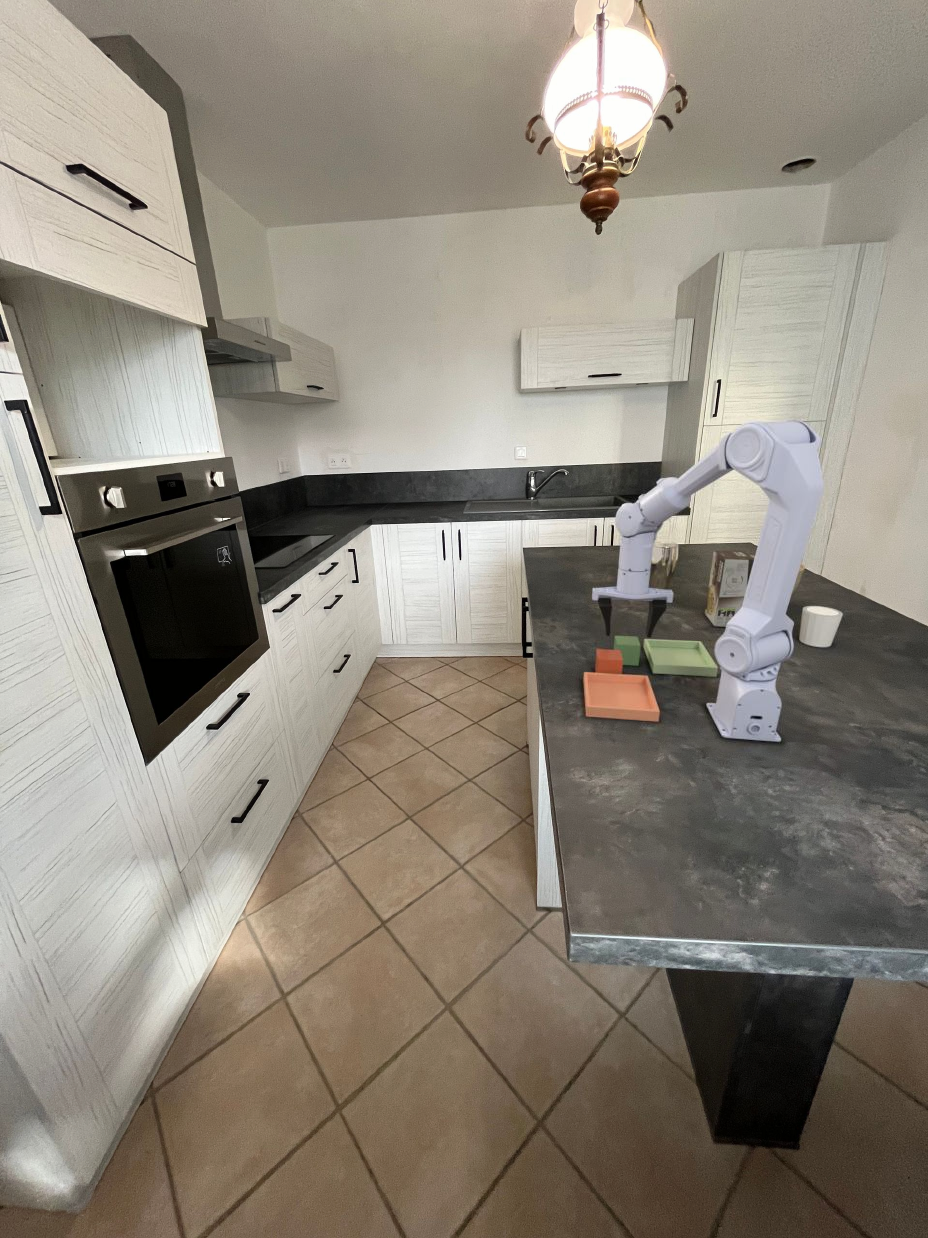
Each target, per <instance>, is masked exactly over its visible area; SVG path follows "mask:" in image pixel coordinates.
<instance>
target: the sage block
mask: <svg viewBox="0 0 928 1238" xmlns="http://www.w3.org/2000/svg"><path fill="white" fill-rule="evenodd" d="M613 650H621V654H622V658H623V666H636V667H638V666H639V664H640V658H641V657H640V655H641V643H640V640H639V637H638V636H633V635H632V636H630V635H614V642H613Z"/></svg>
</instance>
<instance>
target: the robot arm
mask: <svg viewBox="0 0 928 1238" xmlns="http://www.w3.org/2000/svg"><path fill="white" fill-rule="evenodd" d="M821 443H822V437H820V435H818V433H817V432H816V430H814V429H813V428H812V427H811V426H810V425H809V424H808V423H807V422H805V421H804V420H801V419H789V420H785V421H784V420H783V421H757V420H751V421H746V422H744V423H742V424H740V425H738V426H737V427H736V428H735V429H734V430H733V431H732V432H729V433H727V434H726V435H724V436H722V438H720V441H719V443H718V444H717V445H716V446H715V447H714V448H713V449H711V450H710V451H709V452H707V454H706V455H704V456H703V457H702V458H701V459H700V460H698V461H697V462H696V463H694V465H692V466H691V467H690V468H689V469H687V471H685V472H684V473H683V474H682V475H680V476H679V477H675V476H674V477H673V476H670V477H662V478H659V479H658V480H657V481H656V486H654V487H653V488H652V489H651V490H649V491H648V492H646V493H642V494H641V495H639V496H638V499H637V500H636V501H635V502H634V503H632V502H626V503H623V504H621V506H620V507H619V508H618V510H617V511H616V514H615V519H614V520H615V521H614V523H615V527H616V530H617V532H618V533H619V534H620V544H619V557H618V567H617V568H618V569H617V579H616V580H617V581H616V586H608V587H607V586H606V587H592V591H591V592H592V593H591V599H592V601H597V604H598V607H599V610H600V612H601V616H602V618H603V621H604V627H605V636H606V637H610V636H611V621H612V619H611V618H612V611H613V606H612V604H613V603H612V601H639V602H640V601H641V602H642V601H643V602H648V610H647V611H648V613H647V620H646V627H645V636H646V639H651V638H652V636H653V632H654V630H655V627H656V626H657V623H658V622H659V620H660V619H661V617H662V616H663V615H664V614H665V612H666V611H667V608H668V604H669V603H670V604H671V603H673V600H674V595H675V594H674V591H673V590H672V589H671V590H663V589H655V588H649V587H650V570H651V560H652V551H653V543H654V542H656V541H657V538H658V537H657V536H658V533H659V532H660V530H661V529H662V527H663V525H664V522H666V521H668V520H669V519H671V518H672V517H673V516H675V515H677V514H679V512H682V511H683V510H684V509H686V508H687V507H689V505H690V503H691V500H692V495H694V494H695V493H697V492H699V491H701V490H702V489H704V488H706V487H707V486H709V485H711V484H712V483H714V482H716V481H717V480H718V479H719V480H720V478H722V477H724V476H725V475H727V474H729V473H730V472H732V471H735V472H737V473H738V474H740V475H741V476H742V477H745V478H746V479H748V480H750V481H751V482H752V483H754V484H756V485H757V486H759V488H760V489H761V490H762V491H763V492H764V494H765V495H766V496H767V497H768V499H769V502H768V506H767V509H766V513H765V518H764V520H763V524H762V529H761V532H760V536H759V540H758V544H757V548H756V552H755V555H754V556H755V559H754V562H753V566H752V570H751V574H750V578H749V581H748V585H747V589H746V593H745V597H744V600H743V604H742V607H741V609H740V610H739V611H738V612H737V613H736V614H735V615H734V616H733V617H732V618H731V620H730V621H729V622H728V623H727V626H726V627H725V628H724V629H725V630H724V632H723V633H722V634H721V636H720V637H719V638H718V639H717V640H716V642H715V645H714V656H715V659H716V662H717V663H718V666H720V667H719V670H720V671H721V673H720V674H721V675H720V678H719V684H718V691H717V695H716V696H717V697H716V701H715V702H707V703H706V708H707V710H708V712H709V714H710V716H711V718H712V720H713V722H714V724H715V726H716V728H717V730H718V731H719V734H720V735H721V737H722V738H725V739H736V740H737V739H738V740H749V741H750V740H752V741H760V742H761V741H762V742H777V743H780V742H781V741H782V738H781V736H780V735H779V733H778V731H777V730H778V729H777V728H778V724H779V721H780V715H781V713H782V712H781V711H782V707H783V704H782V700H781V697H780V695H779V694H778V691H777V687H776V686H777V685H776V684H777V679H778V674H779V671H780V668H781V663H784V662H786V661H787V660H788V659H789V658H791V656H792V654H793V652H794V648H795V647H794V646H795V645H794V639H793V630H794V625H795V622H794V621H793V620H792V619H791V618H790V617H789V616H788V614H787V611H788V607H789V604H790V601H791V597H792V594H793V593H792V591H793V588H794V585H795V581H796V578H797V575H798V572H799V568H800V565H801V564H802V561H803V558H804V555H805V552H806V549H807V545H808V542H809V539H810V535H811V531H812V529H813V526H814V522H815V520H816V516H817V512H818V510H819V506H820V503H821V499H822V497H823V494H824V488H825V482H824V476H823V471H822V467H821V462H820V456H819V449H820V446H821Z"/></svg>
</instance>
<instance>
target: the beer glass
mask: <svg viewBox="0 0 928 1238" xmlns="http://www.w3.org/2000/svg"><path fill="white" fill-rule="evenodd" d="M679 546H680V545H679V544H678V543H676V542H672V541H655V542H654V543H653V551H652V560H651V570H650V579H649V588H655V589H663V590H672V589H671V588H672V584H673V580H674V576H675V572H676V570H677V566H678V561H679Z"/></svg>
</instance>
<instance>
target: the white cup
mask: <svg viewBox="0 0 928 1238" xmlns="http://www.w3.org/2000/svg"><path fill="white" fill-rule="evenodd" d="M843 615H844V613H843V612H842V611H840V610H839V609H835V608H833V607H827V606H822V605H807V606H803V607H802V613H801V620H800V628H799V639H798V640H799V641H800V642H801V643H803V644H804V645H807V646H811V647H817V648H829V647H831V646H832V644H833V641H834V639H835V636H836V633H837V631H838V628H839V625H840V623H841V621H842V618H843Z"/></svg>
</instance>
